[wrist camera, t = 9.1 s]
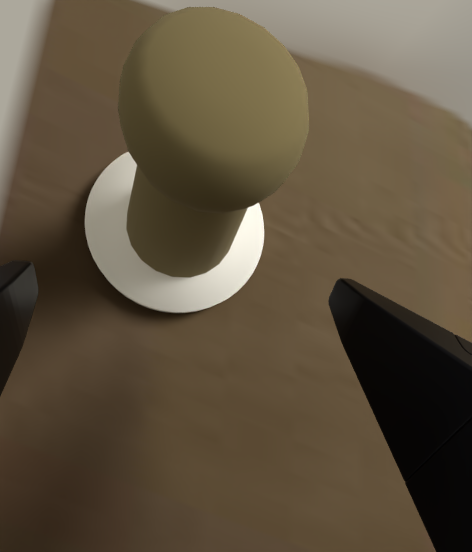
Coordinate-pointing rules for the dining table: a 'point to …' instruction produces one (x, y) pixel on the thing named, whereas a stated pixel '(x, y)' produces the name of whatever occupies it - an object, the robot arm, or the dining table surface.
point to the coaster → (142, 278)
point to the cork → (206, 133)
